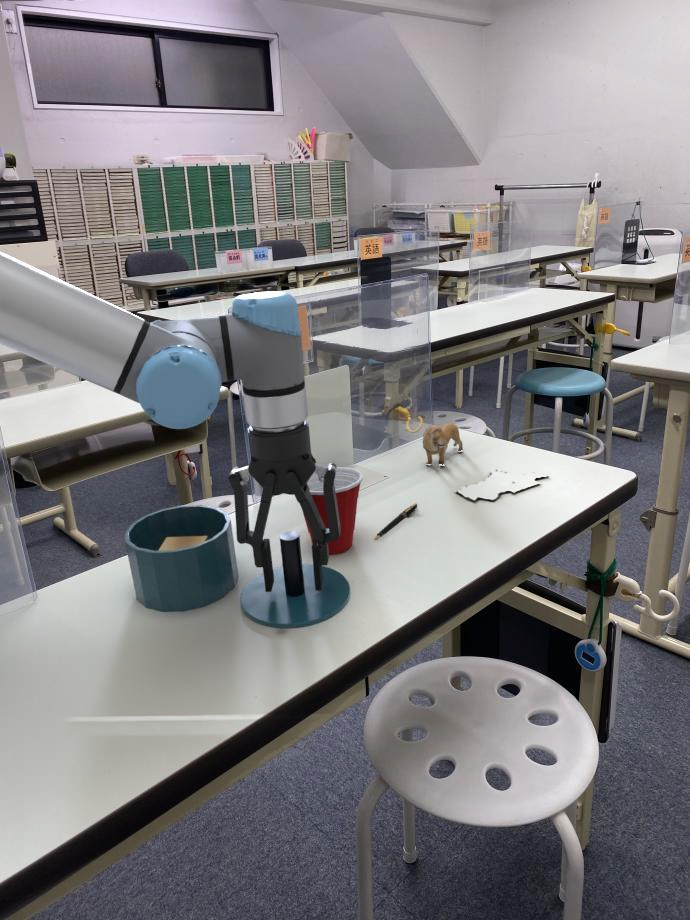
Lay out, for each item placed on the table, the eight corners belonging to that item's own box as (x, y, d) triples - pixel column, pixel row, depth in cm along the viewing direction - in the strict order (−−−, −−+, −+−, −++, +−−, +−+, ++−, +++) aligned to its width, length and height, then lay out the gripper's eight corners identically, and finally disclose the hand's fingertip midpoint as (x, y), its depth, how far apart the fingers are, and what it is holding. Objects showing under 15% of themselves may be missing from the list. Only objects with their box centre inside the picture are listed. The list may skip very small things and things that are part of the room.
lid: (231, 633, 86) (221, 566, 83) (251, 572, 100) (244, 512, 97) (347, 630, 85) (342, 562, 82) (352, 569, 99) (348, 509, 96)
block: (160, 595, 95) (153, 557, 93) (173, 573, 100) (166, 536, 98) (203, 594, 94) (197, 556, 92) (213, 572, 100) (207, 535, 98)
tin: (122, 616, 91) (108, 554, 88) (154, 562, 105) (144, 506, 101) (226, 614, 90) (217, 550, 87) (246, 559, 104) (238, 503, 100)
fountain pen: (376, 545, 105) (376, 536, 105) (370, 543, 106) (369, 534, 106) (420, 508, 116) (420, 500, 116) (414, 507, 117) (414, 499, 116)
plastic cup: (341, 525, 112) (336, 457, 108) (381, 549, 104) (377, 477, 100) (284, 546, 107) (276, 475, 103) (321, 573, 98) (314, 498, 94)
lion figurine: (444, 475, 129) (443, 430, 126) (417, 472, 131) (416, 427, 128) (466, 448, 141) (467, 407, 138) (442, 446, 143) (441, 405, 140)
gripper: (356, 409, 86) (365, 569, 95) (208, 416, 88) (230, 573, 96) (354, 429, 79) (364, 599, 88) (193, 436, 81) (219, 603, 89)
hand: (294, 585), depth 92 cm, fingers open, 6 cm apart
